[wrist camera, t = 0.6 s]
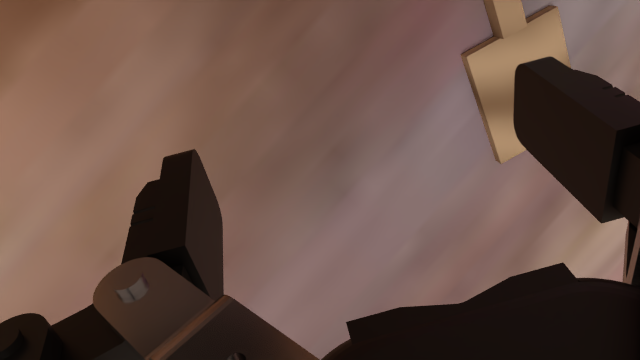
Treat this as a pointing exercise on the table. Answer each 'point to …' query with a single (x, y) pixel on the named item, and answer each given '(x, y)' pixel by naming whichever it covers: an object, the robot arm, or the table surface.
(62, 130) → the table surface
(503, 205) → the table surface
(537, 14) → the turner
